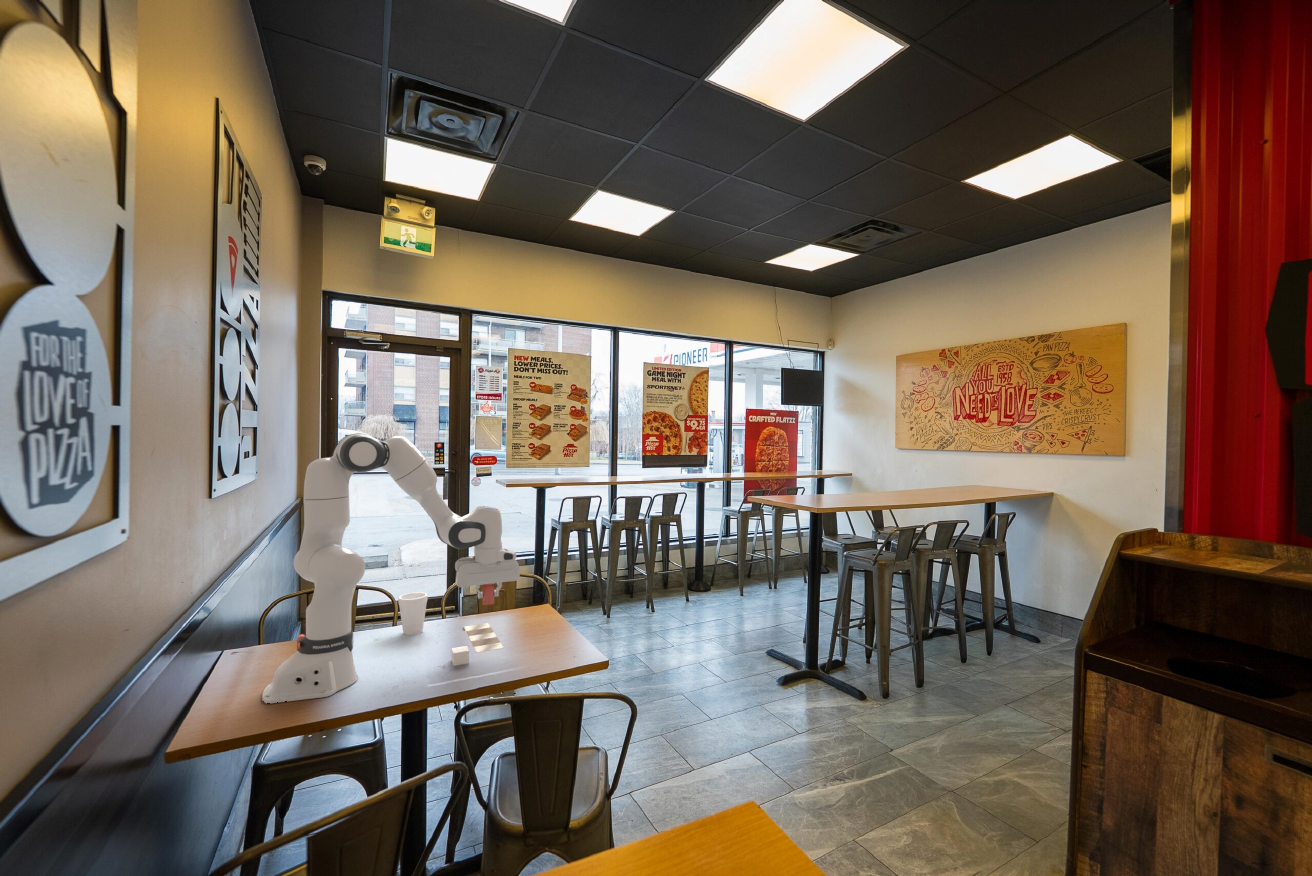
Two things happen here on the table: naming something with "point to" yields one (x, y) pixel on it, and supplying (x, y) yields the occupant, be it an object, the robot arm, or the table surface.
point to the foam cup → (412, 612)
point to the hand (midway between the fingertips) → (488, 596)
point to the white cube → (460, 655)
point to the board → (483, 637)
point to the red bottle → (488, 594)
